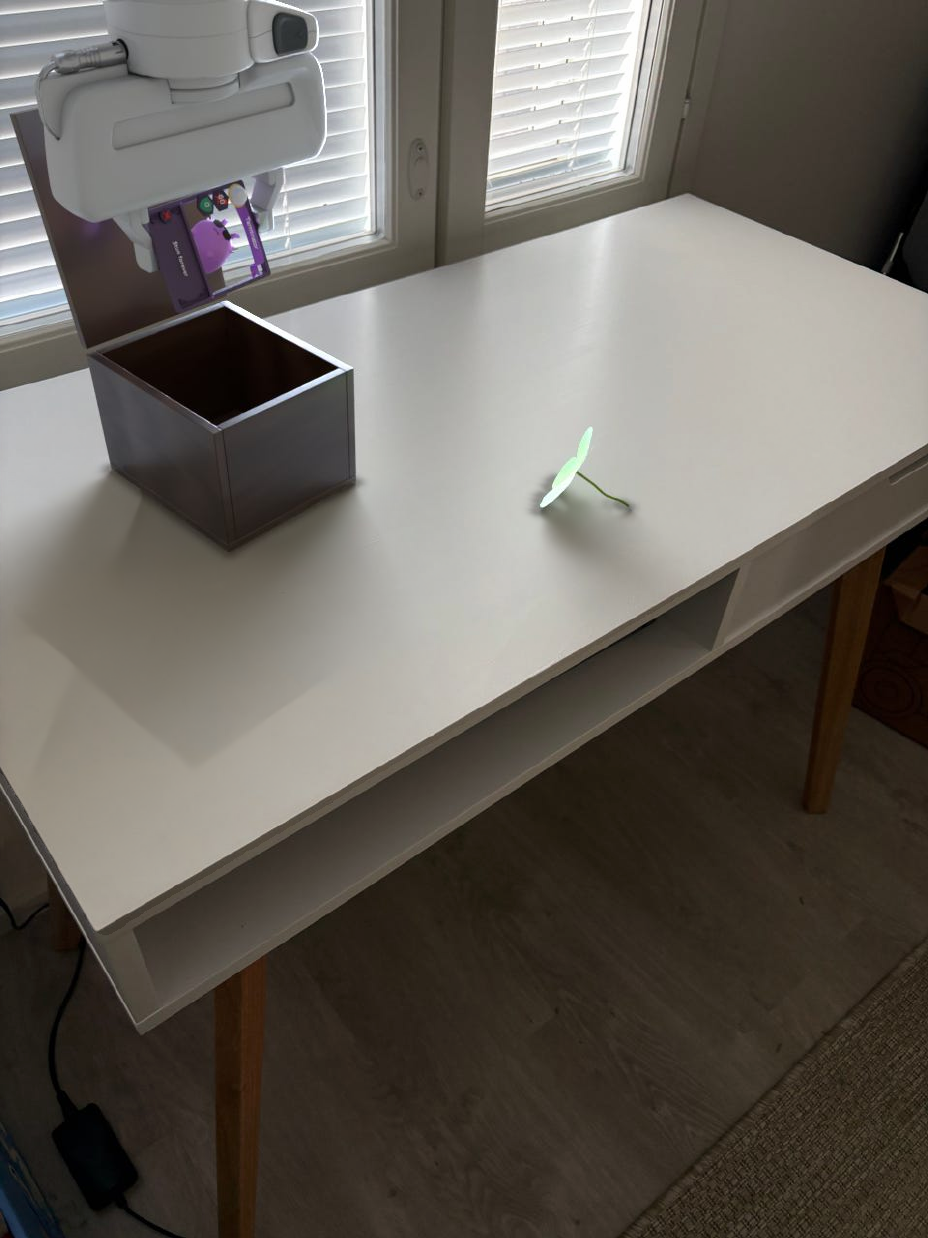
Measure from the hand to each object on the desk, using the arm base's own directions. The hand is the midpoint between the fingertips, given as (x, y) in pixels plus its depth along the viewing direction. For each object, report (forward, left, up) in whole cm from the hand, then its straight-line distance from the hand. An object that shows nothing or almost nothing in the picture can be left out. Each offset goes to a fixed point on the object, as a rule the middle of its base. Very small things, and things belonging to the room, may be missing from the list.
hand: (209, 248), depth 72 cm
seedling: (+18, -22, -20) cm, 35 cm away
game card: (-1, 0, -3) cm, 3 cm away
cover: (0, +9, 0) cm, 9 cm away
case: (0, +1, -20) cm, 20 cm away
